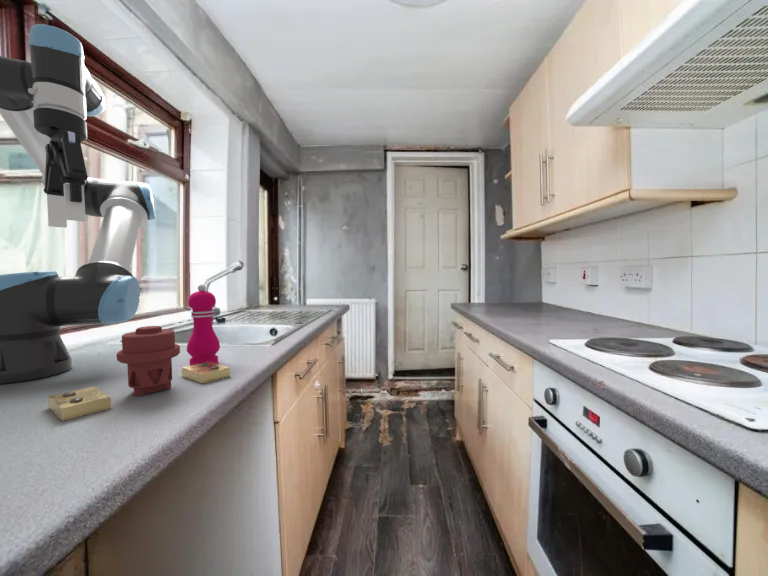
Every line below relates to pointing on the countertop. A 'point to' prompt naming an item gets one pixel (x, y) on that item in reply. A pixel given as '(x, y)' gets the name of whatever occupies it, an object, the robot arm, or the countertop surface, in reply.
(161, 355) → the mechanical component
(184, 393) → the countertop surface
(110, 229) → the robot arm
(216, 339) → the pepper mill
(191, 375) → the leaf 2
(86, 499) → the countertop surface
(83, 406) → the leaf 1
